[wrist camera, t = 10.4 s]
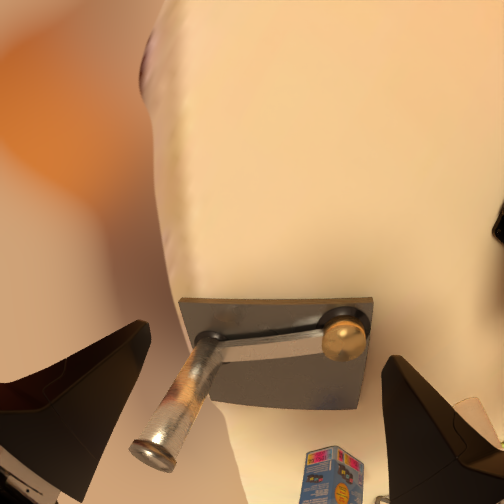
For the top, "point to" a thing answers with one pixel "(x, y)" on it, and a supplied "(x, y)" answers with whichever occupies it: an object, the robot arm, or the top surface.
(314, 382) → the bolt plate
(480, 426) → the dixie cup
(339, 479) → the ink cartridge box
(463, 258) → the top surface
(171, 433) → the crank handle
